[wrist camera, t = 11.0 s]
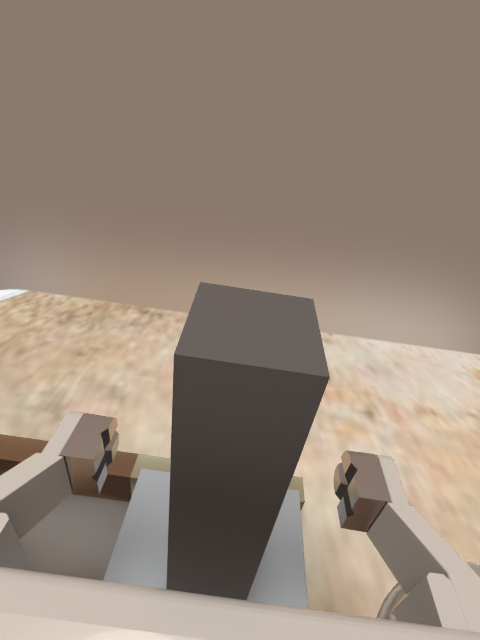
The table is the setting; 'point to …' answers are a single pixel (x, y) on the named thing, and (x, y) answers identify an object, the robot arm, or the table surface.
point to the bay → (85, 514)
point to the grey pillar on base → (230, 454)
